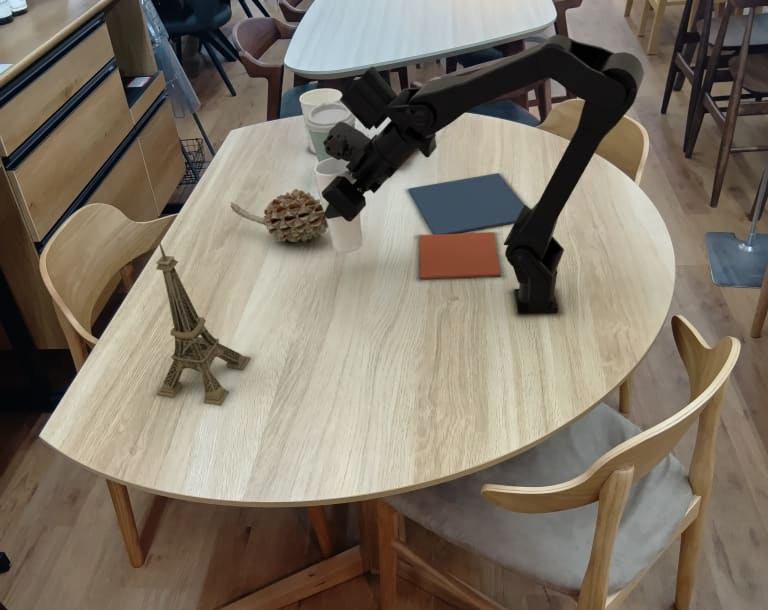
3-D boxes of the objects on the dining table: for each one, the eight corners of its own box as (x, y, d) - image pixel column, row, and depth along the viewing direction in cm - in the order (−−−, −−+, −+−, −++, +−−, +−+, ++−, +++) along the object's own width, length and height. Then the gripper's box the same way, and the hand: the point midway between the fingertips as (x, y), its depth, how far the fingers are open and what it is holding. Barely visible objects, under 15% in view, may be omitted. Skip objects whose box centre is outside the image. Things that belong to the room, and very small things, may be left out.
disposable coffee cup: (368, 183, 145) (362, 113, 135) (321, 194, 143) (312, 125, 132) (352, 164, 152) (345, 97, 142) (307, 175, 150) (297, 107, 140)
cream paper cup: (301, 144, 162) (293, 94, 154) (338, 135, 165) (332, 85, 157) (315, 159, 155) (308, 107, 147) (353, 149, 158) (348, 98, 150)
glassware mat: (534, 219, 129) (534, 217, 129) (435, 237, 127) (435, 235, 127) (498, 175, 144) (498, 173, 143) (408, 190, 141) (408, 188, 141)
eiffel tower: (220, 405, 97) (172, 258, 80) (157, 394, 100) (96, 250, 83) (250, 358, 104) (211, 214, 87) (190, 350, 107) (141, 208, 90)
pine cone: (342, 230, 131) (336, 183, 124) (325, 256, 125) (318, 208, 118) (242, 220, 137) (231, 174, 130) (220, 244, 130) (207, 198, 123)
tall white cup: (359, 258, 114) (346, 176, 104) (323, 255, 116) (307, 174, 106) (372, 237, 119) (361, 157, 109) (337, 234, 121) (323, 155, 111)
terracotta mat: (500, 276, 116) (500, 273, 116) (419, 279, 117) (419, 276, 117) (493, 234, 126) (493, 232, 126) (419, 237, 127) (419, 235, 127)
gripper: (376, 87, 106) (324, 148, 117) (324, 134, 94) (272, 197, 105) (425, 140, 109) (369, 194, 120) (380, 192, 96) (323, 248, 108)
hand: (334, 206), depth 113 cm, fingers closed on tall white cup, 6 cm apart
